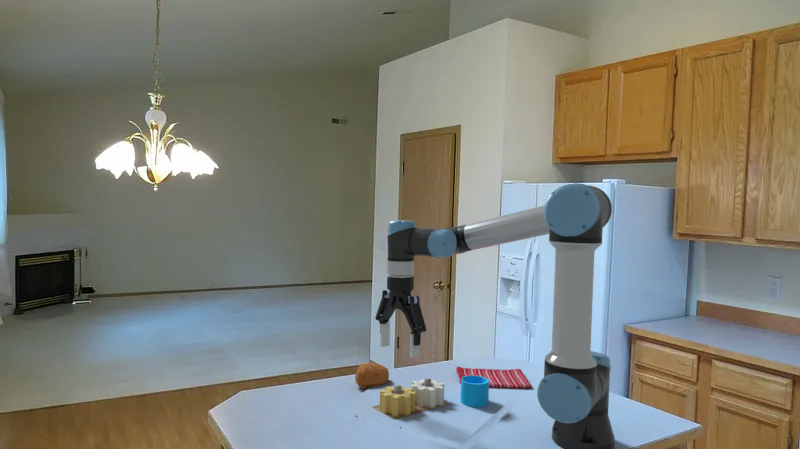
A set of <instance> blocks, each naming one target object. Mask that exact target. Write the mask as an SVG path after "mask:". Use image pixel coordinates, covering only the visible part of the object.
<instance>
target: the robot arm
mask: <svg viewBox="0 0 800 449" xmlns="http://www.w3.org/2000/svg"><path fill="white" fill-rule="evenodd" d="M612 211H613V205H612V201H611V198H610V197H609V196H608V194H607V193H606V192H605V191H604V190H602V189H601V188H599V187H597V186H594V185H587V184H584V183H577V182H576V183H575V182H574V183H568V184H563V185H561V186H559V187H558V188H556V189H554V190H553V191H552V192H551V193H550V194H549V196H548V197H547V199H546V201H545V203H544V205H541V206H537V207H533V208H528V209H525V210H520V211H516V212H512V213H509V214H504V215H501V216H496V217H491V218H488V219H483V220H479V221H476V222H471V223H467V224H462V225H458V226H455V227H446V228H445V227H444V228H442V227H441V228H418V227H416V222H415V221H413V220H399V219H398V220H397V219H395V220H391V221H389V223H388V228H387V235H386V237H387V262H386V274H387V275H388V276H387V277H386V289H383V290H382V293H381V299H380V302H379V306H378V309H377V310H376V315H375V317H374V318H375V321H378V323H379V325H380V326H379V328H380V329H379V333H380V345H379V346H380V347H381V348H384V347H389V346H391V345H390V342H391V341H390V340H391V339H390V336H391V333H390V332H391V322H390V319H391V318H392V316H393V314H394V313H395V311H396V310H400V311H401V313H403V314H404V317H405V319H406V321H407V324H408V326H409V328H410V329H411V332H410V333H409V358H411V359H413V358H417V357H420V345H421V338H422V337H421V334H422V333H425V332H427V326H426V324H425V319H424V315H423V313H422V312H423V311H422V308H421V306H420V297H419V295H413V296H412V291H414V288H415V278H414V276H413V275H414V274H415V256H416V257H417V256H420V257H431V258H437V259H441V258H443V259H444V258H445V259H447V258H451V257H452V256H453V255H458V254H459V255H460V254H464V253H466V252H471V251H474V250H475V251H476V250H479V249H484V248H489V247H494V246H499V245H504V244H509V243H512V242H517V241H522V240H527V239H531V238H536V237H542V236H545V235H548V236H549V237H548V242H549V244H550V245H551V246H552V247H553V248H554V250H555V252H554V279H553V280H554V281H553V282H554V283H553V306H552V307H553V308H552V333H551V351H550V352H548V353H547V354H546V355H545V357H544V366H543V368H544V371H543V378H542V379H540V381H539V383H538V388H537V390H536V392H537V400H538V403H539V406H540V408H541V409H542V410H543V411H544V412H545V413H546V415H547V416H548V417H549V418H552V419H553V420H554V422H553V425H552V427H551V428H552V429H551V440H552V441H553V442H554V443H555V444H557V445H558V446H560V447H561V448H563V449H615V440H616V439H615V434H614V431H613V428H612V422H611V420H610V417H609V416H610V415H609V403H610V402H609V401H610V377H611V370H612V367H611V359H610V357H609V356H608V355H607V354H604V353H601V352H598V351H592V350H591V349H592V323H593V322H592V321H593V297H594V296H593V295H594V277H595V276H594V275H595V274H594V273H595V272H594V270H595V252H596V250H597V249H598V248H599V247H601V246H602V244H603V228H604V227H606V225H607V224H608V223H609V221H610V220H611V217H612V213H613V212H612Z"/></svg>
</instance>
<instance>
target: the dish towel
mask: <svg viewBox="0 0 800 449" xmlns="http://www.w3.org/2000/svg"><path fill="white" fill-rule="evenodd" d="M455 370H456V373H457V374H458V379H460V380H459V383H460V385H461V378H462V377H464V376H481V377H485V378H487V379H488V380H489V389H506V388H507V389H508V390H509V389H510V390H513V389H514V390H531V389H532V388H533V387H532V385H531V384H530V382H529V380H528V378H527V376H525V374H524V372H523V371H522V369H521V368H511V369H499V368H498V369H496V368H495V369H493V368H492V369H491V368H478V367H477V368H471V367H462V366H456V368H455ZM507 389H506V390H507Z"/></svg>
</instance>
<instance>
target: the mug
mask: <svg viewBox="0 0 800 449" xmlns="http://www.w3.org/2000/svg"><path fill="white" fill-rule="evenodd" d="M489 392H490V388H489V380H488V379H487V378H485V377H481V376H464V377H462V378H461V384H460V403H461V404H463V406H466V407H471V408H484V407H486V406H488V405H489V395H490V394H489Z"/></svg>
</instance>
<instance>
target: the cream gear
mask: <svg viewBox="0 0 800 449" xmlns="http://www.w3.org/2000/svg"><path fill="white" fill-rule="evenodd" d="M424 379H425V378H423V379H419V380H418V381H417V380H413V381H412V382H411V384H410V388H412V389H413V392H416V394H415V403H416V404H417V406H419V407H423V406H429V407H430V408H432V407H435V405H440V406H441V405H443V404H444V400H445V383H444V382H439V381H438V380H436V379H431V387H425V386H424Z"/></svg>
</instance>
